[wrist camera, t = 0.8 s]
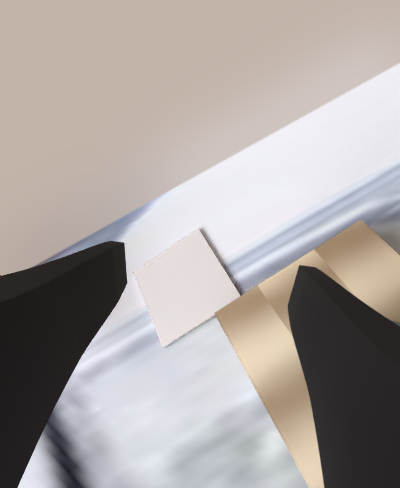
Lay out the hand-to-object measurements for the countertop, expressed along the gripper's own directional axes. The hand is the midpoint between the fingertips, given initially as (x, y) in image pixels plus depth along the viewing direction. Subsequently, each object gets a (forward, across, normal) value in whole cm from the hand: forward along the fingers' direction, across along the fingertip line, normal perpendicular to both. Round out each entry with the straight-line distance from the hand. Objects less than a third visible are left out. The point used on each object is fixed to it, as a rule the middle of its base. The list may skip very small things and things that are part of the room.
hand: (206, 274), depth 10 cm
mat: (+12, +3, +10) cm, 16 cm away
